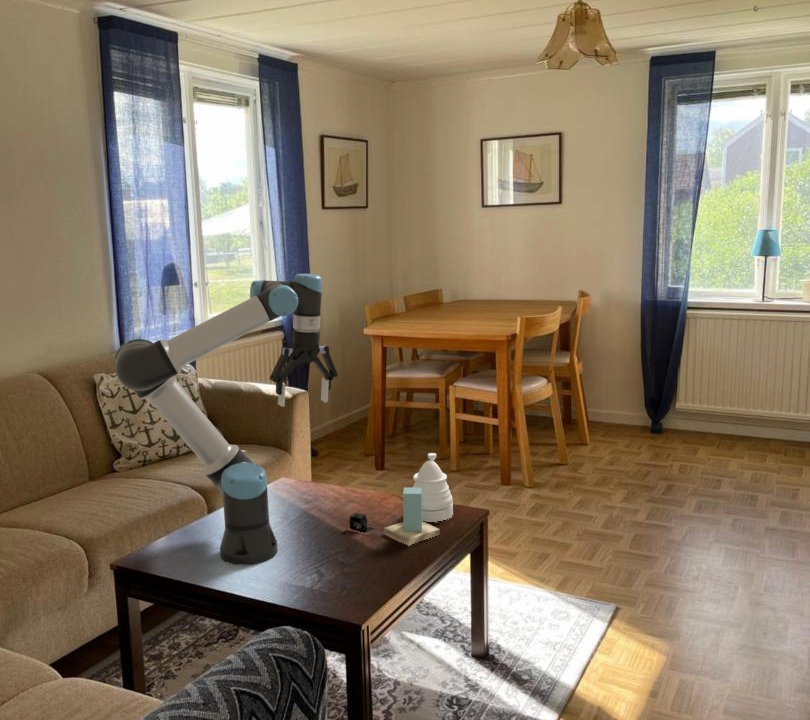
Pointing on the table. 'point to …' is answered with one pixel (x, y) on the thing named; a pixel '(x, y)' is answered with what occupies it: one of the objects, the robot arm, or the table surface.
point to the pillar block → (412, 509)
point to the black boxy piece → (359, 523)
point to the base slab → (411, 533)
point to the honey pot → (434, 492)
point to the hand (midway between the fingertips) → (303, 403)
